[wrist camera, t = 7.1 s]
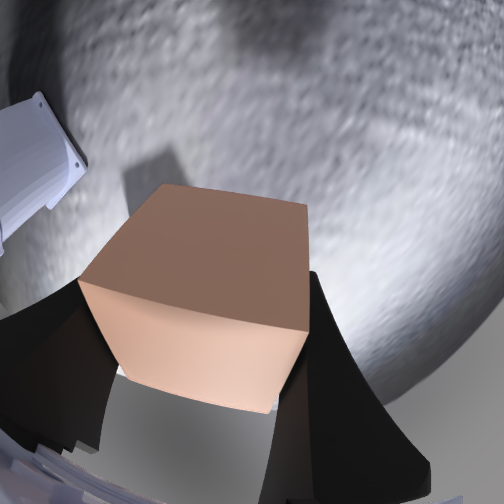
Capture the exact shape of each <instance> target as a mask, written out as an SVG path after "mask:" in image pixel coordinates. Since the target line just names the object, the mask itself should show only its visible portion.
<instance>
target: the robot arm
mask: <svg viewBox="0 0 504 504" xmlns="http://www.w3.org/2000/svg"><path fill="white" fill-rule="evenodd" d="M78 163H79V165H78ZM86 171H87V167H86V165H85V163H84V162H83V160H82V159H81V157H80V156H79V154H78V153H77V151H76V150H75V148H74V146H73V145H72V143H71V142H70V140H69V138H68V137H67V135H66V134H65V132H64V130H63V129H62V127H61V125H60V124H59V122H58V120H57V119H56V117H55V115H54V114H53V112H52V110H51V108H50V107H49V105H48V103H47V101H46V100H45V98H44V96H43V94H42V92H41V91H38V92H36V93H35V94H34V96H33V97H32V98H31V99H28V100H25V101H23V102H20V103H17V104H15V105H12V106H10V107H7V108H5V109H3V110H0V256H1V255H2V254H3V253H4V250H3V247H2V243H3V242H4V241H5V240H6V239H7V238H8V237H9V236H10V235H11V234H12V233H13V232H14V231H15V230H16V229H17V228H18V227H20V226H21V225H22V224H23V223H24V222H25V221H26V220H27V219H28V218H30V217H31V216H32V215H33V214H34V213H35V212H37V211H38V210H39V209H40V208H41V207H42V206H44V205H46V206H47V208H48V209H52V208H53V207H54V206H55V205H56V204H57V203H58V202H59V200H60V199H61V198H62V197H63V196H64V195H65V194H66V193H67V191H68V190H69V189H70V188H71V187H72V186H73V185H74V184H75V183H76V182H77V181H78V180H79V179H80V178H81V177H82V176H83V175H84V174H85V173H86ZM79 277H80V276H79ZM79 277H78V278H79ZM78 278H76V279H74V280H73V281H72V282H70V283H69V284H67V285H66V286H64V287H63V288H61V289H59V290H58V291H56V292H54V293H53V294H51V295H49V296H48V297H46V298H44V299H42V300H41V301H39V302H37V303H35V304H33V305H31V306H29V307H27V308H25V309H23V310H21V311H19V312H17V313H15V314H13V315H11V316H9V317H6V318H4V319H2V320H0V504H106V503H103V502H101V501H99V500H97V499H94V498H92V497H90V496H88V495H86V494H84V490H85V491H87V492H89V493H91V494H92V495H94V496H96V497H98V498H100V499H102V500H104V501H107V502H109V503H111V504H167V503H163V502H161V501H158V500H155V499H152V498H149V497H146V496H143V495H140V494H138V493H135V492H133V491H130V490H128V489H125V488H123V487H120V486H118V485H116V484H114V483H112V482H109V481H107V480H105V479H103V478H101V477H99V476H97V475H95V474H93V473H91V472H89V471H87V470H85V469H84V468H82V467H80V466H78V465H76V464H74V463H73V462H71V461H69V460H68V459H66V458H64V457H63V456H61V454H62V451H63V448H64V449H65V450H67V451H69V452H70V453H72V452H73V450H74V447H77V448H79V449H81V450H84V451H86V452H88V453H90V454H93V453H96V452H98V451H99V443H100V436H101V429H102V423H103V419H104V414H105V409H106V405H107V401H108V397H109V394H110V390H111V387H112V383H113V381H114V378H115V374H116V372H117V369H118V366H119V363H118V361H117V360H116V358H115V356H114V354H113V353H112V351H111V349H110V347H109V345H108V344H107V342H106V340H105V338H104V336H103V334H102V332H101V330H100V328H99V326H98V324H97V322H96V320H95V318H94V316H93V314H92V312H91V310H90V308H89V306H88V303H87V301H86V299H85V297H84V294H83V292H82V290H81V287H80V285H79V283H78ZM309 285H310V306H309V333H308V336H307V338H306V340H305V342H304V344H303V347H302V349H301V351H300V353H299V355H298V357H297V359H296V361H295V363H294V365H293V367H292V369H291V371H290V373H289V375H288V377H287V379H286V381H285V383H284V385H283V387H282V389H281V391H280V393H279V403H278V410H277V416H276V423H275V428H274V434H273V439H272V445H271V450H270V455H269V460H268V465H267V469H266V473H265V478H264V482H263V486H262V490H261V494H260V498H259V502H258V504H400V503H404V502H408V501H412V500H416V499H419V498H422V497H425V496H427V495H429V494H430V492H431V469H430V462H429V461H428V460H427V459H426V458H425V457H424V456H423V455H422V454H421V453H420V452H419V451H418V450H417V448H416V447H415V446H414V445H413V444H412V443H411V442H410V441H409V440H408V439H407V437H406V436H405V435H404V433H403V432H402V431H401V430H400V428H399V427H398V426H397V425H396V423H395V422H394V421H393V420H392V418H391V417H390V415H389V414H388V413H387V411H386V410H385V408H384V407H383V405H382V404H381V403H380V401H379V400H378V398H377V397H376V396H375V394H374V392H373V391H372V389H371V388H370V386H369V384H368V383H367V381H366V380H365V378H364V376H363V375H362V373H361V371H360V369H359V368H358V366H357V364H356V362H355V361H354V359H353V357H352V355H351V353H350V351H349V349H348V347H347V345H346V343H345V341H344V339H343V337H342V335H341V333H340V331H339V328H338V326H337V324H336V322H335V319H334V317H333V315H332V313H331V310H330V308H329V305H328V303H327V300H326V298H325V295H324V293H323V290H322V287H321V285H320V282H319V279H318V276H317V274H316V272H314V271H309ZM42 464H43V465H44V466H46V467H48V468H49V469H47V468H45V467H43V465H42ZM462 502H463V496H461V495H460V496H456V497H453V498H448V499H446V500H442V501H437V502H432V503H425V504H462Z"/></svg>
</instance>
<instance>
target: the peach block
mask: <svg viewBox="0 0 504 504" xmlns="http://www.w3.org/2000/svg"><path fill="white" fill-rule="evenodd" d="M78 283H79V285H80V287H81V290H82V292H83V294H84V297H85V299H86V301H87V303H88V306H89V308H90V310H91V312H92V314H93V316H94V318H95V320H96V322H97V324H98V326H99V328H100V330H101V332H102V334H103V336H104V338H105V340H106V342H107V344H108V345H109V347H110V349H111V351H112V353H113V354H114V356H115V358H116V360H117V361H118V363H119V365H120V366H121V368H122V370H123V371H124V373H125V375H126V376H127V378H128V379H129V380H132V381H135V382H137V383H140V384H143V385H146V386H149V387H152V388H155V389H159V390H162V391H166V392H169V393H172V394H176V395H179V396H183V397H187V398H190V399H194V400H199V401H203V402H207V403H211V404H216V405H220V406H225V407H230V408H236V409H241V410H247V411H253V412H260V413H266V414H268V413H269V412H270V410H271V408H272V406H273V404H274V402H275V401H276V399H277V397H278V395H279V393H280V391H281V389H282V387H283V385H284V383H285V381H286V379H287V377H288V375H289V373H290V371H291V369H292V367H293V365H294V363H295V361H296V359H297V357H298V355H299V353H300V351H301V349H302V347H303V344H304V342H305V340H306V338H307V336H308V333H309V306H310V285H309V235H308V210H307V205H305V204H299V203H294V202H288V201H283V200H277V199H271V198H265V197H259V196H253V195H247V194H240V193H234V192H227V191H220V190H213V189H205V188H198V187H190V186H182V185H173V184H164V183H163V184H162V185H161V186H160V187H159V188H158V189H157V190H156V191H155V192H154V193H153V194H152V195H151V196H150V197H149V198H148V199H147V200H146V201H145V202H144V203H143V204H142V205H141V206H140V207H139V208H138V209H137V210H136V211H135V212H134V213H133V214H132V216H131V217H130V218H129V219H128V220H127V221H126V222H125V223H124V224H123V225H122V227H121V228H120V229H119V230H118V231H117V232H116V233H115V234H114V236H113V237H112V238H111V239H110V240H109V241H108V243H107V244H106V245H105V246H104V247H103V248H102V250H101V251H100V252H99V253H98V254H97V256H96V257H95V258H94V259H93V261H92V262H91V263H90V264H89V266H88V267H87V268H86V269H85V271H84V272H83V273H82V274H81V276H80V277H79V278H78Z"/></svg>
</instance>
